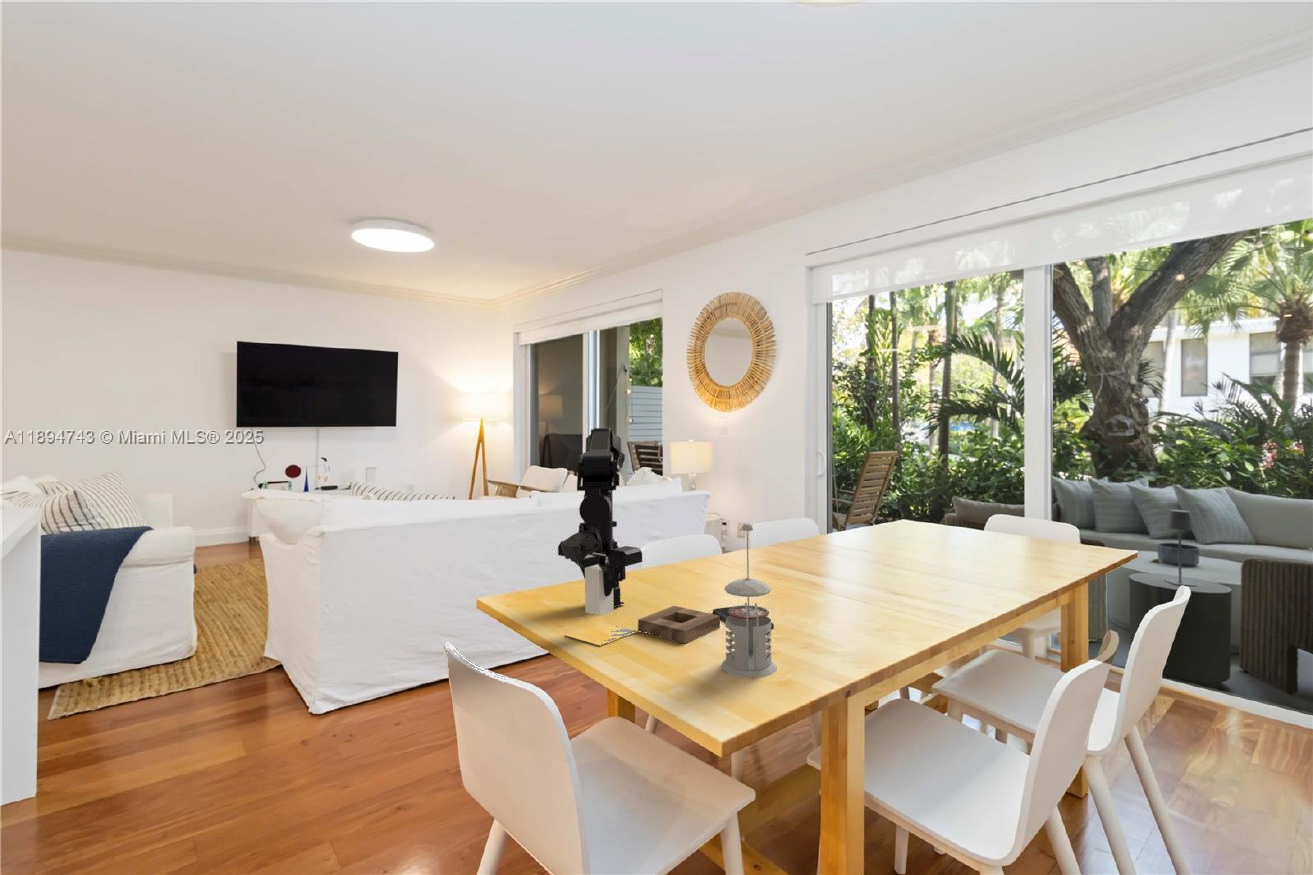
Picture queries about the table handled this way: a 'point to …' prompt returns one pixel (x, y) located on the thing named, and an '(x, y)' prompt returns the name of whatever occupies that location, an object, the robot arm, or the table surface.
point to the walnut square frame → (679, 624)
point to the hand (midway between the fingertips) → (599, 594)
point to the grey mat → (621, 634)
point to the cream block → (596, 592)
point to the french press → (748, 630)
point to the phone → (727, 614)
